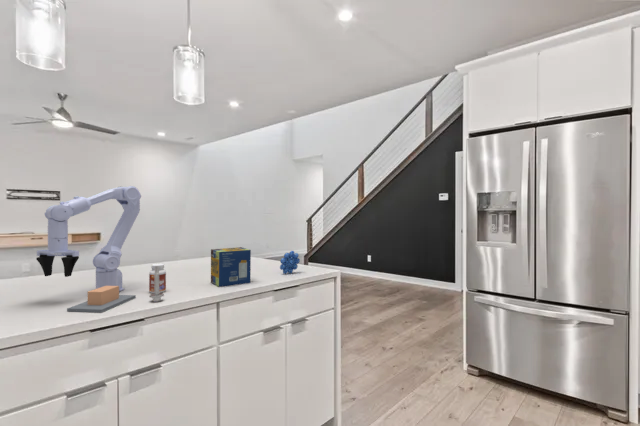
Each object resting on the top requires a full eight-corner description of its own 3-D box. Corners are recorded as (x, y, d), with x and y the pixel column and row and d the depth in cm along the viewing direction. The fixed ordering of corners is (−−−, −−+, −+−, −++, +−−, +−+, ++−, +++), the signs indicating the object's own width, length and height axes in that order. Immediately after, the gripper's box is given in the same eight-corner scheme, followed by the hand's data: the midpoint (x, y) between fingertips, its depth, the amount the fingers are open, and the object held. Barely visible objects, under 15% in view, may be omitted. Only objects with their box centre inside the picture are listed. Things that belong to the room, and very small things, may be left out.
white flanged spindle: (166, 299, 126) (158, 303, 122) (155, 298, 127) (146, 302, 122) (166, 264, 126) (158, 267, 121) (155, 264, 127) (146, 266, 122)
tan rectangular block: (87, 304, 115) (87, 291, 115) (106, 297, 124) (106, 285, 124) (101, 305, 115) (101, 292, 115) (119, 298, 124) (119, 286, 124)
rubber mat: (105, 297, 129) (105, 294, 129) (135, 297, 128) (135, 295, 128) (67, 311, 111) (66, 308, 111) (101, 312, 110) (101, 309, 110)
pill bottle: (148, 294, 134) (148, 266, 134) (149, 290, 139) (149, 263, 139) (166, 292, 136) (166, 265, 136) (165, 289, 142) (166, 263, 142)
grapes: (295, 271, 185) (295, 249, 184) (301, 273, 179) (301, 250, 179) (276, 273, 178) (276, 250, 178) (282, 275, 172) (282, 252, 172)
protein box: (210, 282, 155) (210, 249, 154) (241, 278, 164) (241, 247, 164) (218, 287, 146) (218, 251, 146) (251, 282, 156) (251, 249, 155)
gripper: (28, 239, 118) (28, 277, 118) (67, 239, 117) (68, 278, 117) (46, 237, 125) (46, 273, 125) (83, 237, 124) (83, 274, 124)
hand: (58, 276), depth 122 cm, fingers open, 7 cm apart
